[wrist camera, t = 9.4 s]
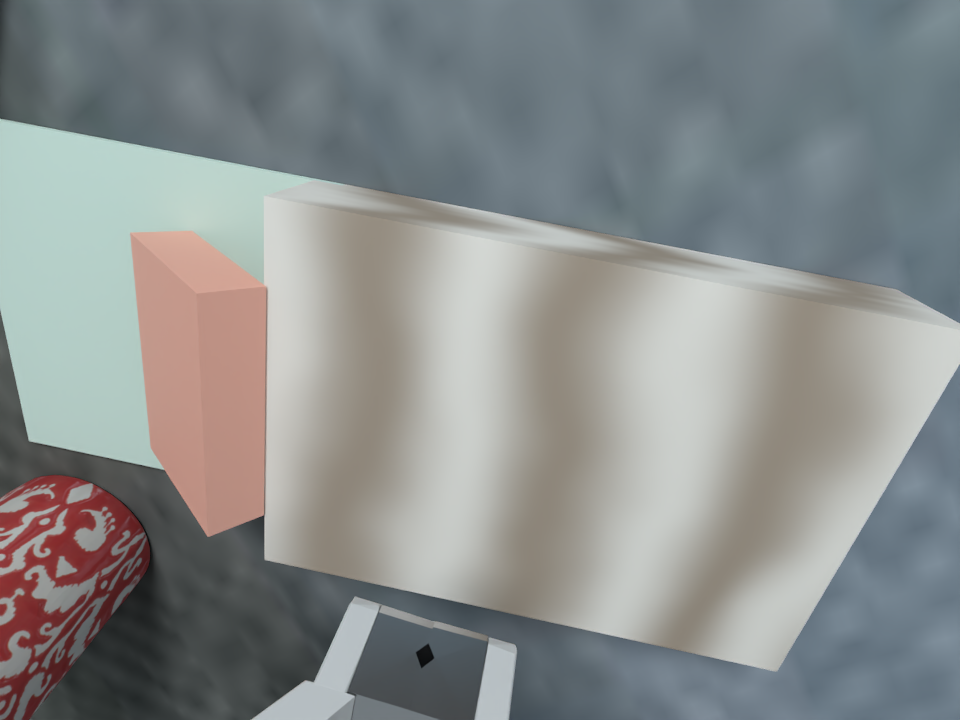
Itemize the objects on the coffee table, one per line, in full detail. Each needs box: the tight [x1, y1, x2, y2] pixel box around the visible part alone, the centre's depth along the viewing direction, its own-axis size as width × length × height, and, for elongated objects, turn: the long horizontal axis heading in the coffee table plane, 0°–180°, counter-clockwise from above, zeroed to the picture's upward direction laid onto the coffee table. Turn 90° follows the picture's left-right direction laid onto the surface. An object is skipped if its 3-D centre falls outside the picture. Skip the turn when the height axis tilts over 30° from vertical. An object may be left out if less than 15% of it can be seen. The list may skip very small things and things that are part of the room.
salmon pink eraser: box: [130, 231, 266, 537], centre depth 20 cm, size 6×9×2 cm
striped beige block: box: [264, 180, 960, 672], centre depth 20 cm, size 20×14×4 cm
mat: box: [0, 119, 345, 470], centre depth 23 cm, size 14×14×1 cm
